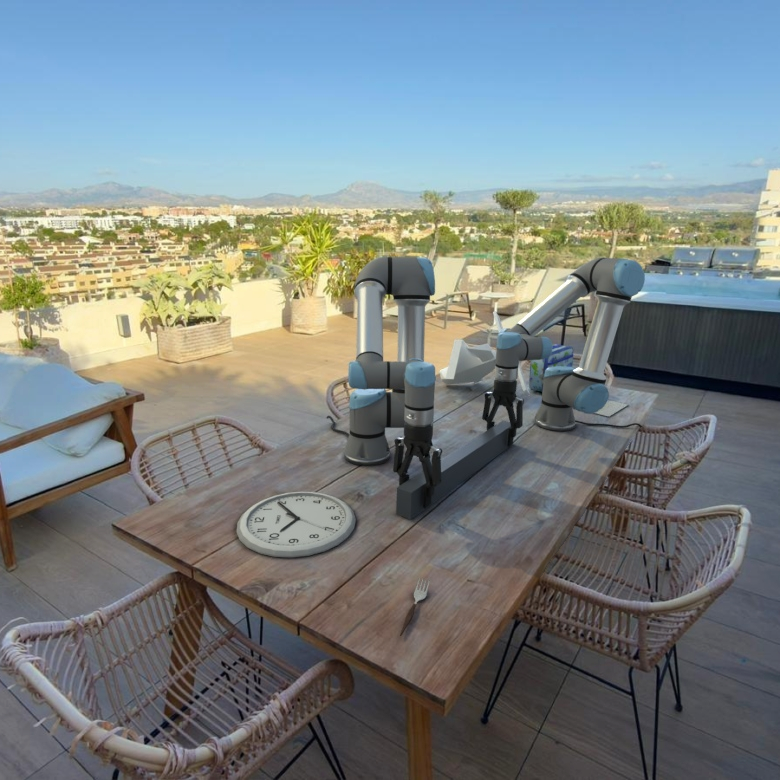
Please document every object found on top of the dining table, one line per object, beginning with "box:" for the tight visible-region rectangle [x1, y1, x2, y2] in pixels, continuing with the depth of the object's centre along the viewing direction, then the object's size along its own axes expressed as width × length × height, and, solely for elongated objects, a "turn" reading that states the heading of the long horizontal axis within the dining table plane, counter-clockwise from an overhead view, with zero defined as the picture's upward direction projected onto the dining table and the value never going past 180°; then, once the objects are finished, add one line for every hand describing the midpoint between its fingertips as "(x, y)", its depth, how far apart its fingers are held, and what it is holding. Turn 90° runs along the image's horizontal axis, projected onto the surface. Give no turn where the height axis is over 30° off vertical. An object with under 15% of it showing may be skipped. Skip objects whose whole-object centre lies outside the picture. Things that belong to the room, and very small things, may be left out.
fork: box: [399, 577, 431, 637], centre depth 104 cm, size 3×16×2 cm, turn 160°
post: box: [395, 420, 515, 521], centre depth 161 cm, size 64×5×8 cm, turn 143°
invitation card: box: [594, 399, 629, 418], centre depth 226 cm, size 21×1×15 cm
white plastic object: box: [438, 310, 531, 397], centre depth 245 cm, size 37×45×31 cm
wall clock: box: [236, 491, 357, 558], centre depth 134 cm, size 30×2×30 cm
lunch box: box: [528, 344, 574, 393], centre depth 247 cm, size 26×11×21 cm, turn 134°
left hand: (415, 501), depth 141 cm, fingers open, 7 cm apart
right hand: (500, 442), depth 181 cm, fingers open, 7 cm apart
